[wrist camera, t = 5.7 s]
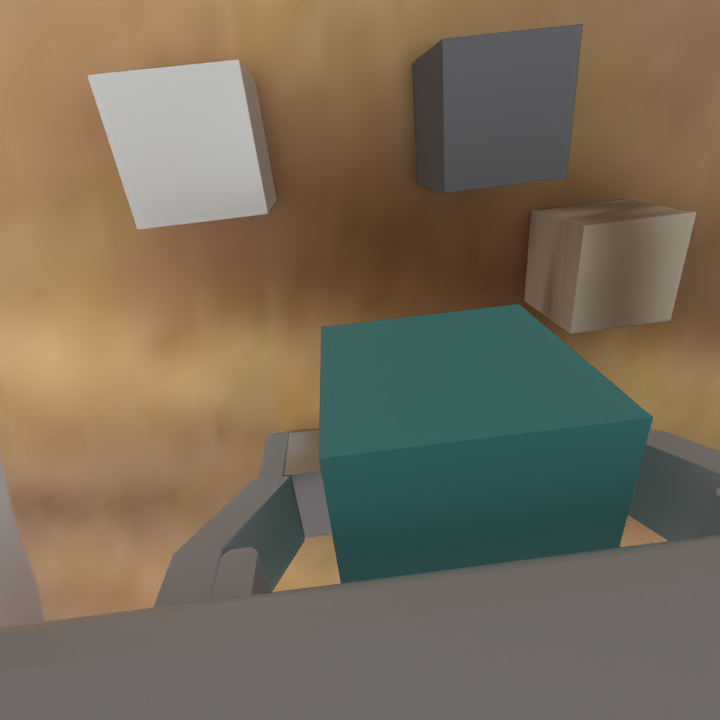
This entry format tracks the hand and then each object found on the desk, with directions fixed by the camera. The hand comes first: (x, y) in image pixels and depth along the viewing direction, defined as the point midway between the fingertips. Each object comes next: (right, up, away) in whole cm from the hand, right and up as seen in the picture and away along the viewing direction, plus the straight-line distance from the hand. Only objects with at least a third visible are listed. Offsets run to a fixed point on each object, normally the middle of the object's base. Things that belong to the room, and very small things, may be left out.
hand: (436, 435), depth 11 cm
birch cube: (+10, +8, +14) cm, 19 cm away
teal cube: (0, +1, +2) cm, 2 cm away
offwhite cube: (-9, +12, +10) cm, 17 cm away
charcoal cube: (+3, +13, +10) cm, 17 cm away
